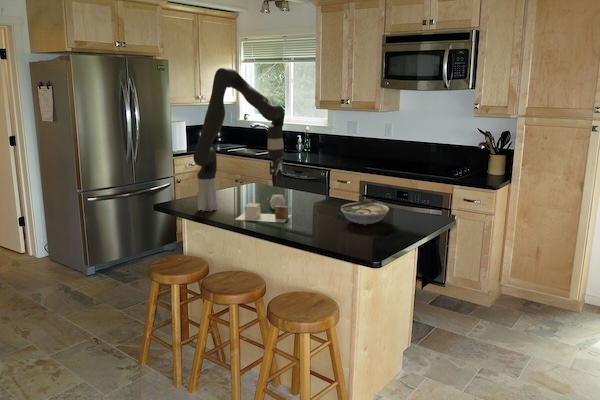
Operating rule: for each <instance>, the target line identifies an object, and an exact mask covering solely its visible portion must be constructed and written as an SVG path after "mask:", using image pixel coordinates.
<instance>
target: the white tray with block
mask: <svg viewBox="0 0 600 400" xmlns="http://www.w3.org/2000/svg"><path fill="white" fill-rule="evenodd" d="M291 216H292V214H289V206H288V205H285V206H275V209H274V214H273V213H261V216H259V217H258V218H257V219H253V218H245V212H243V213H242V214H241V215H239V216H238V217H236V218H235V219H234V220H236V221H253V222H266V223H267V222H268V223H269V222H271V223H272V222H273V223H285V222H287V220H288V219H289V218H291Z"/></svg>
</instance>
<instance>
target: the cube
mask: <svg viewBox="0 0 600 400" xmlns="http://www.w3.org/2000/svg"><path fill="white" fill-rule="evenodd" d="M244 213H245V218H253V219H257V218H258V217H259V216H261V214H262V213H261V203H250V202H249V203H247V204H246V205H244Z"/></svg>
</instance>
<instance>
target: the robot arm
mask: <svg viewBox="0 0 600 400" xmlns="http://www.w3.org/2000/svg"><path fill="white" fill-rule="evenodd" d="M211 88H212V90H211V94H210V97H209V101H208V105H207V110H206V113H205V117H204V120H203V124H202V128H201V130H200V131H201V132H200V136H199V139H198V142H197V144H196V146H195V149H194V152H193V158H192V159H193V162H194V164H195V165H197V166H199V167H200V169H199V171H198V172H197V188H198V189H197V190H198V192H196V197H197V198H196V199H197V210H198V211H200V210H202V211H201V212H204V211H209V212H214V211H213V210H215V211H217V210H218V198H217V183H216V182H217V181H216V180H217V179H216V175H217V170H218V169H217V168H218V167H217V161H218V159H217V152H216V150H215V149H214V148H213V147H212V145H213V142H214V140H215V138H216V137H217V135H218V134H219V133H220V131H221V129H222V126H223V125H224V122H225V118H226V117H225V116H226V108H225V103H224V99H225V94H226V91H227V89H228V88H232V89H234V90H235V91H237V92H239V93H240V94H241V95H242V97H243V98H244V100H245V101H246V103H248V104H249V105H251V106H252V107H253V108H255V109H256V110H257V111H258V112H259V113H260V114H261V116H262V117H263V118H264V119H265V120H267V121H270V122H271V124H270V125H269V126H268V127H267V156H268V159H271V161H270V162H269V175H270V176H271V182H272V184H277V183H278V180H279V181H280V180H282V179H283V171H284V158H285V151H284V150H285V149H284V139H283V137H284V136H283V127H284V121H285V109H284V108H283V106H282V105H280V104H273V105H271V104H270V103H269V99H268V98H267V97H266V96H265V95H263V94H262V93H260V92H259V91H258V90H256V89H255V88H254V87H253V86H252V85H250V84H249V82H247V81H246V80H245V79H244V78H243V77H242V76H241V74H239V72H237V71H236V70H235V69H233V68H229V67H220V68H218V69H217V70H216V71H215V73H214V75H213V83H212V87H211Z"/></svg>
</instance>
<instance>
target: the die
mask: <svg viewBox="0 0 600 400" xmlns="http://www.w3.org/2000/svg"><path fill="white" fill-rule="evenodd" d="M269 204H270V206H271V209H272V210H275V206H286V200H285V198H284V195H283V194H272V196H271V198H270V200H269Z"/></svg>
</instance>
